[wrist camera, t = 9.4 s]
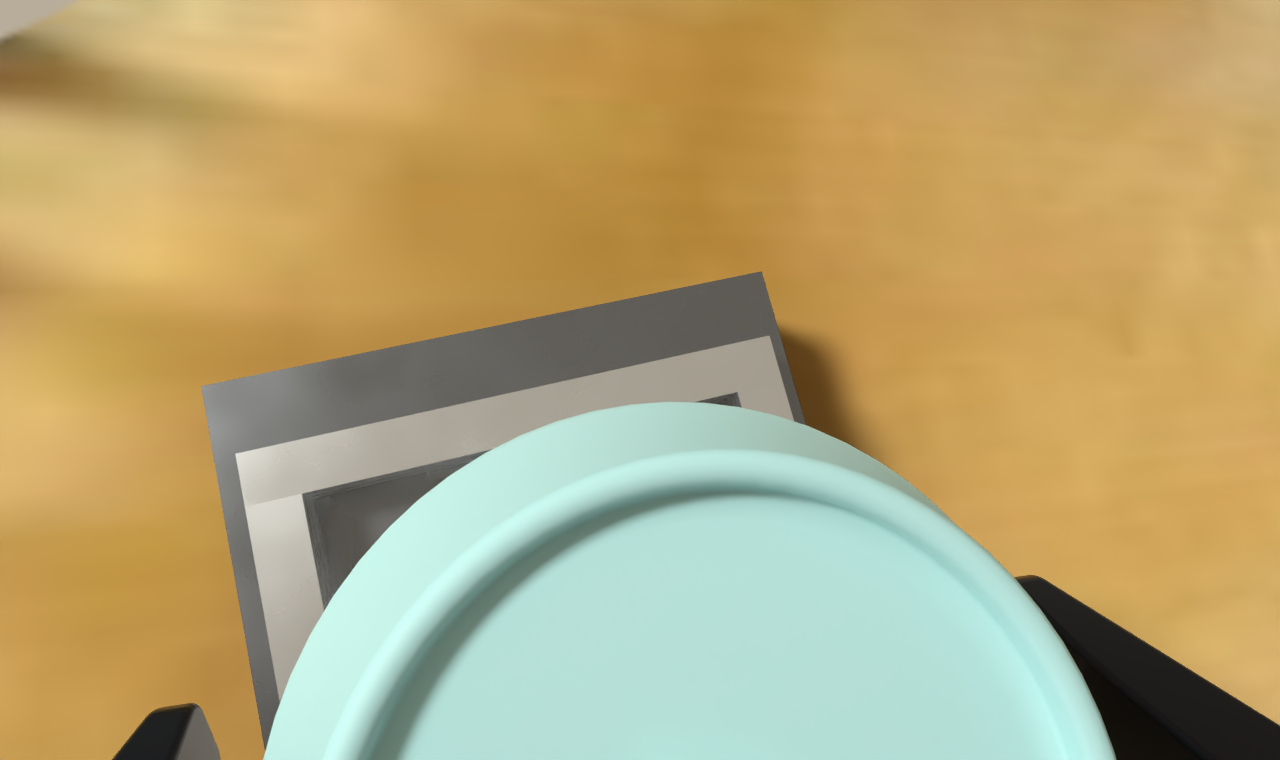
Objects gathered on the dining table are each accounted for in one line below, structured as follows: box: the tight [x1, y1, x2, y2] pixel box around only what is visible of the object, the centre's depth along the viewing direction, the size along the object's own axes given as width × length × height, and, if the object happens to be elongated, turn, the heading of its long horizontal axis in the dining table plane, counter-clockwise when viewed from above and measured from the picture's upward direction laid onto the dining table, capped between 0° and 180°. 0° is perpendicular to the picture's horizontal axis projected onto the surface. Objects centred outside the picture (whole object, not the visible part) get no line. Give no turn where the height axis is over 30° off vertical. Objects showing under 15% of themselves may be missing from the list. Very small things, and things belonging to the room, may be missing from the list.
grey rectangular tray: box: [201, 271, 806, 751], centre depth 18 cm, size 14×12×4 cm
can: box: [263, 402, 1116, 760], centre depth 11 cm, size 7×7×12 cm
